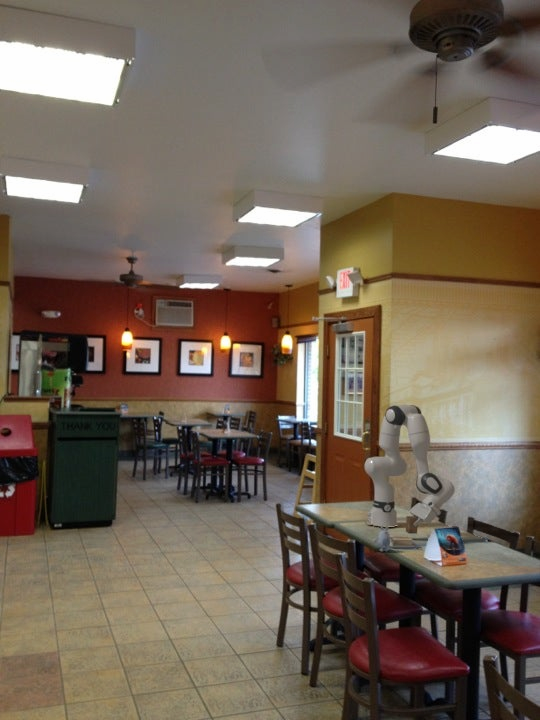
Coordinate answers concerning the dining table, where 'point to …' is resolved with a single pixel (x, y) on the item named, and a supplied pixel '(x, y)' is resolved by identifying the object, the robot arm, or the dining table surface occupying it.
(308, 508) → the dining table surface
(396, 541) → the oak pedestal
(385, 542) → the toy figure
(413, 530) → the walnut pillar
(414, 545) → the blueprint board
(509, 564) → the dining table surface
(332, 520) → the dining table surface
